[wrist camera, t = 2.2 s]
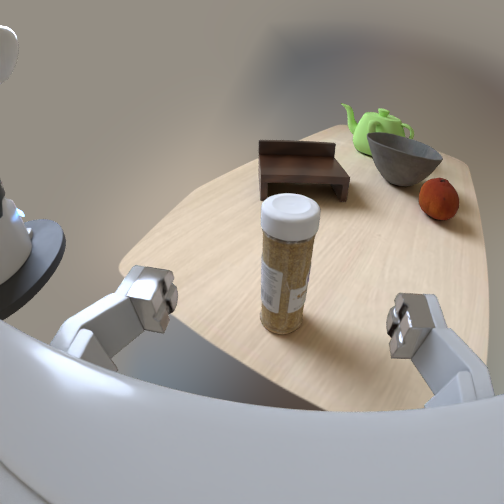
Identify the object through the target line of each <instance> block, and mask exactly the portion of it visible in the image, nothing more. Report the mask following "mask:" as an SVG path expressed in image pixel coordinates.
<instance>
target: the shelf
mask: <svg viewBox="0 0 504 504" xmlns="http://www.w3.org/2000/svg"><path fill="white" fill-rule="evenodd" d="M335 146H336V144H335V143H328V142H312V141H289V140H259V187H260V200H266V199H267V190H268V183H318V184H330V185H331V186H332V188H333V190H334V192H335V193H336V195H337V197H338V198H339V200H340V202H346V200H347V194H348V188H349V182H350V177H349V176H348V174H347V173H346V172H345V170H344V169H343V168H342V167H341V165H340V164H339V163H338V162H337V160H336V159H335V158H334V155H335Z"/></svg>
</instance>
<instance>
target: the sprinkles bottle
mask: <svg viewBox="0 0 504 504" xmlns="http://www.w3.org/2000/svg"><path fill="white" fill-rule="evenodd" d="M319 221H320V207H319V205H318V204H317V203H316V202H315V201H314V200H312V199H310V198H308V197H306V196H303V195H299V194H292V193H284V194H277V195H273V196H271V197H269V198H267V199H266V200H265V201H264V202H263V204H262V207H261V227H262V231H263V252H262V269H261V300H262V310H261V312H260V320H261V322H262V324H263V326H264V327H265V328H266V329H267V330H269V331H271V332H273V333H277V334H287V333H290V332H293V331H295V330H296V329H297V328H298V327H299V326H300V324H301V322H302V320H303V319H302V317H303V314H302V313H303V308H304V303H305V299H306V293H307V287H308V281H309V274H310V268H311V258H312V251H313V244H314V238H315V235H316V233H317V231H318V228H319Z"/></svg>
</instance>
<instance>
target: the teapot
mask: <svg viewBox="0 0 504 504" xmlns="http://www.w3.org/2000/svg"><path fill="white" fill-rule="evenodd" d="M341 104H342V105H343V106H344V107H345V108H346V110H347V115H348V127H349V130H350V131H351V133H352V134H353V143H354V146H355V148H356V149H357V150H358V151H360V152H362V153H365V154H368V155H371V156H372V154H371V150H370V147H369V143H368V140H367V134H368V133H372V132H384V133H390V134H395V135H398V136H402V137H405V133H404V129H403V127H406V128H408V129H409V130H410V137H409V139H413V137H414V131H413V129H412V128H411V127H410V126H409V125H407V124H402V123H401V120H400V119H398V118H395V117H394V116H392V115H389V111H388V110H384V109H378V110H379V113H374V112H367V113H365V114H364V115H363V117H362V118H361V120H360V121H359V123H358V124H357V123H356V121H355V119H354V113H353V110H352V108H351V107H350V106H348V105H346V104H343V103H341Z"/></svg>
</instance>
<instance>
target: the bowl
mask: <svg viewBox="0 0 504 504" xmlns="http://www.w3.org/2000/svg"><path fill="white" fill-rule="evenodd" d="M367 140H368V143H369V147H370V150H371V154H372V157H373V160H374V163H375V165H376V167H377V169H378V171H379V172H380V174H381V175H382V176H383V177H384V178H385V179H386V180H387V181H388V182H390V183H392V184H395V185H399V186H411V185H415V184H417V183H419V182H421V181H423V180H424V179H425V178H427V177H428V176H429V175H430V174H431V173H432V172H433V171H434V170H435V168H436V167H437V166H438V165H439V164H440V163H441V162H442V160H443V158H442V156H441V155H440V154H439V153H438V152H437V151H436V150H434V149H433V148H431V147H430V146H428V145H425V144H423V143H421V142H418V141H415V140H413V139H409V138H406V137H402V136H398V135H395V134H390V133H384V132H372V133H368V134H367Z"/></svg>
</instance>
